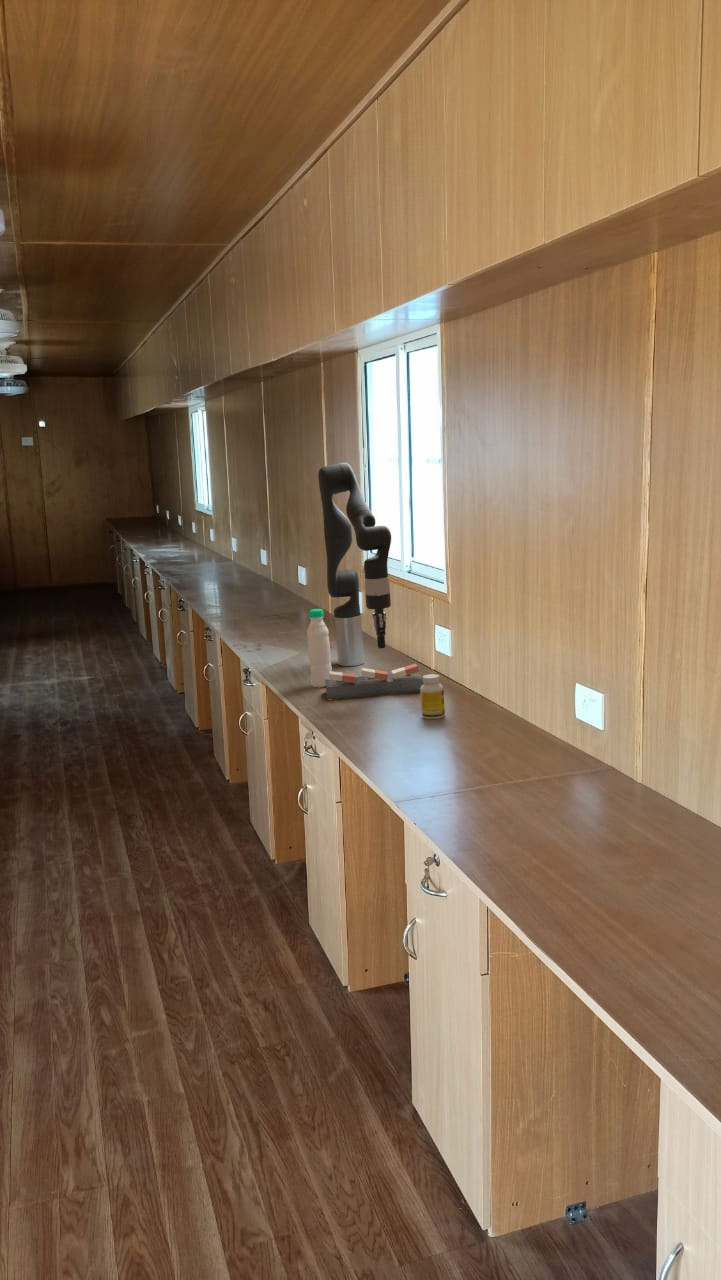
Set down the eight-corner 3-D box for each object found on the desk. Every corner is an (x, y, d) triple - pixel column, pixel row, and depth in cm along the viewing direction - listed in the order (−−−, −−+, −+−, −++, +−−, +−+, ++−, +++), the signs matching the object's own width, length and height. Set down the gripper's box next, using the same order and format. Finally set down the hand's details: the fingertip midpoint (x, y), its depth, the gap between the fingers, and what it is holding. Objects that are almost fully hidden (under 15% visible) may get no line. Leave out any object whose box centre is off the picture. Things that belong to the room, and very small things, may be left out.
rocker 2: (360, 673, 306) (361, 667, 306) (385, 677, 307) (386, 671, 306) (361, 676, 302) (362, 670, 302) (387, 680, 303) (388, 674, 302)
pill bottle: (443, 719, 272) (441, 678, 269) (420, 720, 273) (417, 679, 271) (446, 713, 278) (444, 673, 275) (423, 713, 279) (421, 673, 277)
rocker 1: (328, 676, 305) (329, 671, 305) (354, 679, 306) (354, 674, 306) (328, 679, 301) (329, 673, 301) (354, 682, 302) (355, 677, 302)
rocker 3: (392, 676, 307) (391, 670, 306) (417, 668, 307) (415, 663, 306) (394, 679, 303) (392, 673, 302) (419, 671, 303) (417, 666, 302)
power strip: (326, 692, 312) (325, 679, 311) (420, 683, 313) (419, 670, 312) (327, 700, 302) (325, 686, 301) (424, 691, 303) (423, 678, 302)
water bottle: (334, 682, 324) (328, 607, 319) (331, 687, 317) (325, 611, 312) (313, 683, 325) (306, 608, 320) (309, 688, 318) (303, 612, 313)
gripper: (363, 590, 305) (367, 644, 309) (366, 596, 293) (371, 653, 296) (387, 587, 306) (391, 642, 309) (391, 594, 293) (395, 651, 296)
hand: (381, 647), depth 303 cm, fingers closed
